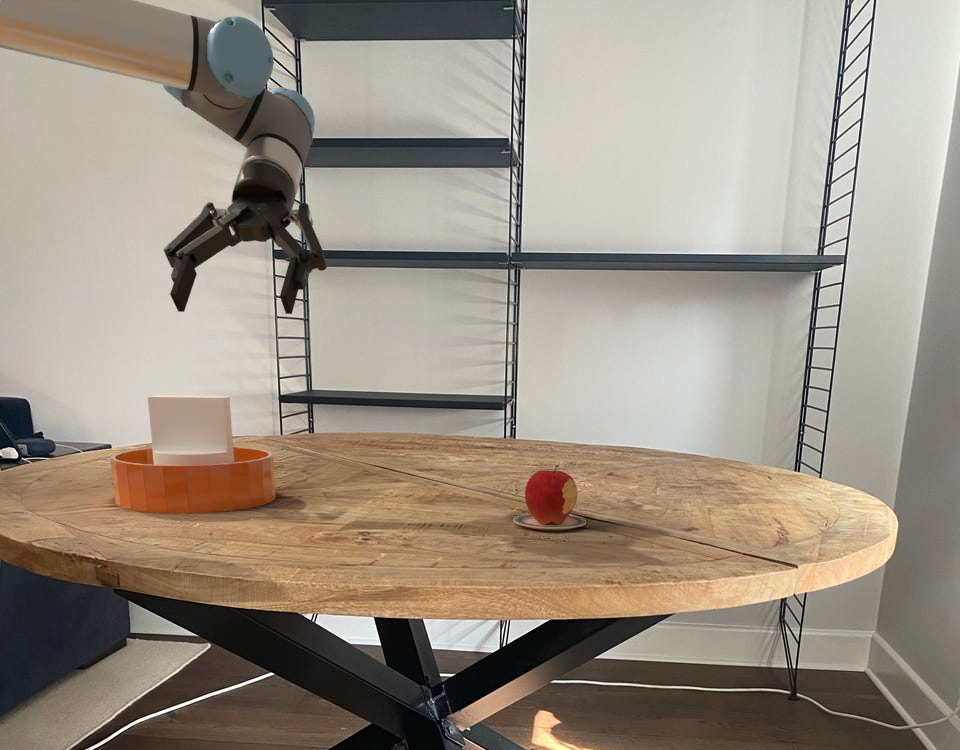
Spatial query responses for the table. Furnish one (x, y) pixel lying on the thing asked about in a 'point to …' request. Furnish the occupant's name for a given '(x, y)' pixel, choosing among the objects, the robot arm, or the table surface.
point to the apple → (550, 502)
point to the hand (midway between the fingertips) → (231, 304)
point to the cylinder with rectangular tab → (190, 429)
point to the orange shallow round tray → (193, 483)
